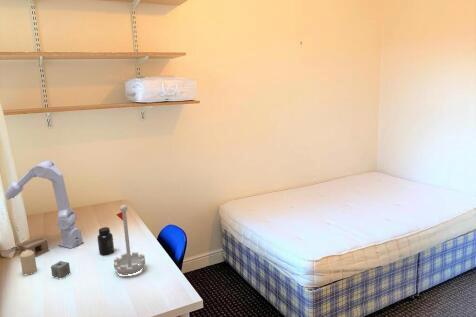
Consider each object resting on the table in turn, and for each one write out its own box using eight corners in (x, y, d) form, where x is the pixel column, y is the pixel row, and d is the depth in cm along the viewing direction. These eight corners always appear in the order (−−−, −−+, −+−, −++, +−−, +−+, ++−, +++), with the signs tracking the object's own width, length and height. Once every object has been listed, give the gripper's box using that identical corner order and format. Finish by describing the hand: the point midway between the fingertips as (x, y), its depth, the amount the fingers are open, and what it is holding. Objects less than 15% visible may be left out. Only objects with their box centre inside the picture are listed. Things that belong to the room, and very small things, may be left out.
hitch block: (49, 250, 184) (47, 239, 183) (29, 259, 175) (27, 247, 174) (38, 247, 188) (36, 236, 186) (19, 256, 179) (17, 244, 178)
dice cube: (61, 271, 164) (60, 260, 163) (70, 273, 162) (68, 262, 161) (52, 277, 159) (50, 266, 158) (61, 279, 158) (59, 268, 156)
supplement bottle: (114, 248, 184) (111, 225, 182) (114, 254, 178) (111, 230, 176) (99, 250, 182) (96, 227, 180) (99, 256, 176) (96, 233, 173)
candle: (21, 276, 161) (17, 254, 159) (24, 269, 166) (21, 249, 164) (35, 273, 162) (31, 252, 160) (38, 267, 168) (34, 247, 165)
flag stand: (152, 267, 165) (146, 202, 158) (129, 281, 154) (122, 212, 147) (130, 260, 171) (124, 198, 165) (108, 273, 160) (100, 207, 154)
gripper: (24, 215, 186) (29, 240, 189) (6, 211, 192) (11, 235, 195) (11, 220, 180) (15, 246, 183) (-8, 215, 186) (-3, 241, 189)
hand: (12, 241), depth 189 cm, fingers closed
